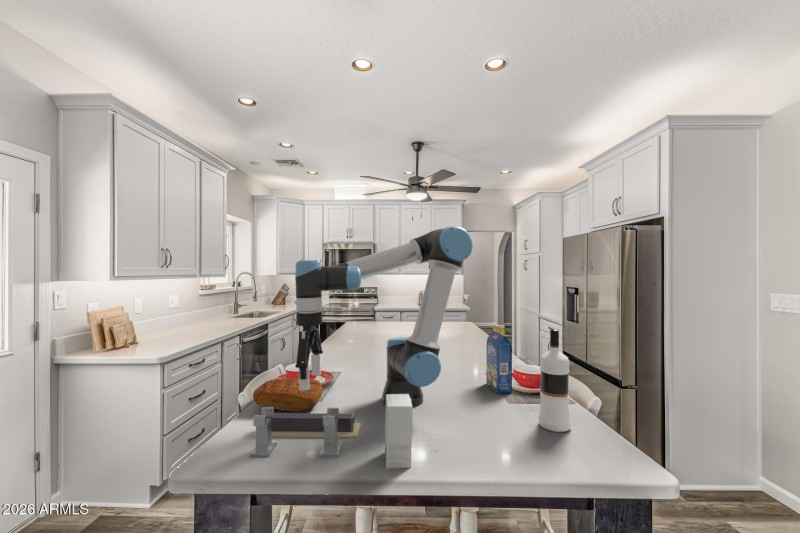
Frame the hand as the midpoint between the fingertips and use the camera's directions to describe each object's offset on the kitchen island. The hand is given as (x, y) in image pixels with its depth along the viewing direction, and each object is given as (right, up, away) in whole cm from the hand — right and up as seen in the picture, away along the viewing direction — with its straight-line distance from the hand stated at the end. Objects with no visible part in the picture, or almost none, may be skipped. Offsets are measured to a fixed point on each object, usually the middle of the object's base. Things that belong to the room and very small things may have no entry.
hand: (310, 382), depth 108 cm
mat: (0, -15, 0) cm, 15 cm away
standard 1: (-10, -15, -12) cm, 21 cm away
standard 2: (+8, -15, -12) cm, 21 cm away
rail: (-1, -14, 0) cm, 14 cm away
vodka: (+75, -15, +3) cm, 76 cm away
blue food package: (+67, -15, +38) cm, 79 cm away
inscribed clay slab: (-12, -15, +20) cm, 28 cm away
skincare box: (+26, -15, -16) cm, 34 cm away
